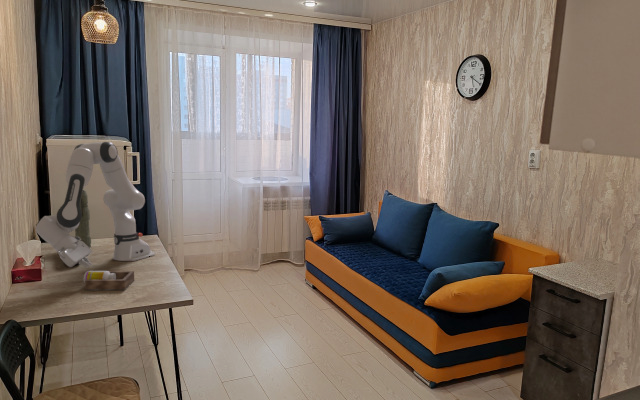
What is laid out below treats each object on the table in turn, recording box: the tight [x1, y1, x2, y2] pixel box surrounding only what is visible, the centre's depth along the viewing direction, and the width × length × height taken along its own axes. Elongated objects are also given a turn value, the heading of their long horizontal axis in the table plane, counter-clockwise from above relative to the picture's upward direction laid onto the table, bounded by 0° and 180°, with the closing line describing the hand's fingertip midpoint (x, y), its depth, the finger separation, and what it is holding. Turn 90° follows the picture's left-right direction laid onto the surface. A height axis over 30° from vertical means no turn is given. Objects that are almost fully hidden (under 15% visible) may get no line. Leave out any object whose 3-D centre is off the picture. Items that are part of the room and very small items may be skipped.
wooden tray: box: [84, 270, 135, 291], centre depth 225 cm, size 18×14×5 cm
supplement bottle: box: [83, 270, 116, 284], centre depth 223 cm, size 7×7×13 cm
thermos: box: [74, 189, 92, 249], centre depth 288 cm, size 9×12×35 cm
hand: (89, 266), depth 223 cm, fingers closed
